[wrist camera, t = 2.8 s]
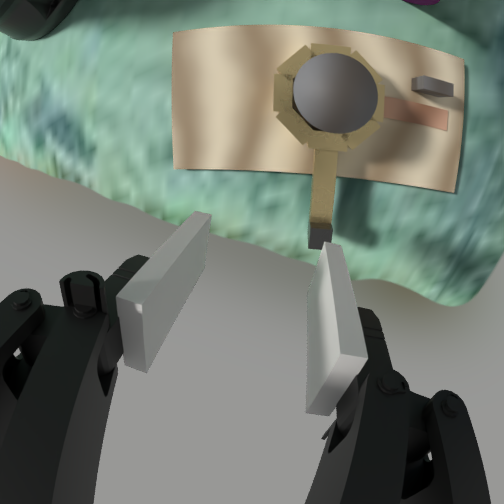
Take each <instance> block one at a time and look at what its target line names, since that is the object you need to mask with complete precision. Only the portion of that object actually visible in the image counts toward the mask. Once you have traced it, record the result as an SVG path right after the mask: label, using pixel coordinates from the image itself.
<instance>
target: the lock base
mask: <svg viewBox="0 0 504 504" xmlns="http://www.w3.org/2000/svg"><path fill="white" fill-rule="evenodd" d="M311 43H316V44H327V45H336V46H344V47H351V54H352V53H353V52H354V51H356V50H357V51H358V53H359V54H360V55H361V56H362V57H363V58H364V59H365V60H366V61H367V62H368V63H369V64H370V66H371V67H372V68H373V69H374V70H375V71H376V72H377V73H378V75H379V76H380V77H381V78H382V79H383V80H382V81H381V82H380V83H378V84H381V85H385V97H384V117H383V122H377V121H376V122H377V123H378V124H379V125H380V128H379V129H378V130H377V131H375V132H374V133H373V134H372V135H370V136H369V137H368V138H367V139H366V140H364V141H363V142H362V143H361V144H359V145H358V146H357V147H356V148H355V149H353V150H351V149H350V148H348V147H347V152H344V151H338V159H337V171H336V176H339V177H349V178H358V179H367V180H375V181H383V182H390V183H397V184H404V185H411V186H417V187H423V188H429V189H435V190H441V191H446V192H452V193H454V190H455V184H456V178H457V172H458V165H459V158H460V149H461V140H462V129H463V115H464V88H465V73H464V59H462V58H459V57H456V56H453V55H450V54H447V53H444V52H441V51H438V50H435V49H432V48H428V47H425V46H421V45H418V44H414V43H410V42H406V41H402V40H398V39H394V38H389V37H384V36H379V35H374V34H369V33H363V32H356V31H350V30H342V29H334V28H324V27H313V26H297V25H239V26H223V27H211V28H202V29H193V30H186V31H179V32H173V47H172V138H173V163H174V169H225V170H255V171H275V172H291V173H305V174H312V173H313V157H314V149H313V148H308V146H307V142H306V143H305V144H304V145H302V144H301V143H300V142H299V141H298V140H297V139H296V138H295V137H294V136H293V135H292V133H291V132H290V131H289V130H288V129H287V128H286V127H285V126H284V125H283V124H282V123H281V122H280V121H279V120H278V119H277V118H276V116H277V115H278V114H279V113H280V112H274V111H273V98H274V74H279V73H278V71H277V68H278V67H279V66H280V65H281V64H282V63H284V62H285V61H286V60H287V59H288V58H290V57H291V56H292V55H293V54H295V53H296V52H297V51H298V50H299V49H301V48H302V47H303V46H304V45H306V46H307V47H308V48H309V49H310V46H311ZM377 103H378V91H377V86H376V83H375V81H374V78H373V77H372V75H371V73H370V72H369V71H368V69H367V68H366V67H365V66H364V65H363V64H361V63H360V62H359V61H357V60H356V59H354V58H352V57H350V56H347V55H344V54H339V53H325V54H320V55H318V56H315V57H313V58H311V59H310V60H308V61H307V62H306V63H305V64H304V65H303V66H302V67H301V68H300V69H299V71H298V73H297V75H296V77H295V81H294V86H293V109H294V110H295V111H296V112H297V113H298V114H299V116H300V117H301V118H302V119H303V120H304V121H305V122H306V123H307V124H308V125H309V126H310V127H311V128H314V129H320V130H323V131H325V132H329V133H335V134H343V133H349V132H353V131H356V130H358V129H360V128H361V127H363V126H364V125H365V124H366V123H367V122H368V121H369V120H370V119H371V118H372V116H373V114H374V112H375V110H376V107H377Z"/></svg>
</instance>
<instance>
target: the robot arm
mask: <svg viewBox="0 0 504 504" xmlns="http://www.w3.org/2000/svg"><path fill="white" fill-rule="evenodd" d="M76 2H77V0H0V32H2V33H4V34H6V35H8V36H10V37H11V38H13V39H16V40H26V41H32V40H36V39H39V38H41V37H43V36H45V35H46V34H48V33H49V32H50V31H52V30H53V29H54V28H55V27H56V26H57V25H58V24H59V23H60V22H61V21H62V20H63V19H64V18H65V17H66V15H67V14H68V13H69V12H70V10H71V9H72V8H73V6H74V5H75V3H76ZM211 216H212V215H211V214H207V213H202V212H198V211H194V213H193V214H192V215H191V216H190V217H189V218H188V219H187V220H186V221H185V222H184V223H183V224H182V225H181V226H180V227H179V228H178V229H177V230H176V231H175V232H174V233H173V234H172V235H171V236H170V237H169V238H168V239H167V240H166V242H165V243H164V244H163V245H162V246H161V247H160V248H159V249H158V250H157V251H156V252H155V253H154V254H153V255H152V256H151V258H148V257H145V256H141V255H136V256H134V257H131V258H129V259H127V260H126V261H125V262H124V263H123V264H122V265H121V266H120V267H119V269H117V270H116V271H115V272H114V273H113V274H112V275H111V276H110V277H109V278H108V279H107V280H106V281H105V282H104V279H103V278H102V276H100V275H99V274H97V273H95V272H91V271H76V272H72V273H70V274H68V275H65V276H64V277H63V278H62V279H61V280H60V281H59V283H60V288H61V293H62V297H63V302H64V307H60V306H52V305H44V304H43V302H42V298H41V296H40V293H38V292H37V291H36V290H33V289H20V290H17V291H14V292H13V293H11V294H10V295H8V296H7V297H6V298H5V299H4V300H3V301H2V302H1V303H0V504H93V503H94V495H95V486H96V480H97V473H98V466H99V460H100V454H101V449H102V443H103V438H104V432H105V428H106V423H107V418H108V413H109V409H110V404H111V400H112V396H113V391H114V387H115V383H116V379H117V375H118V367H117V362H118V361H119V359H120V358H121V356H122V354H123V356H124V363H125V365H126V366H129V367H131V368H134V369H137V370H139V371H142V372H145V373H147V371H148V370H149V368H150V366H151V364H152V362H153V360H154V359H155V357H156V355H157V353H158V351H159V349H160V347H161V346H162V344H163V342H164V340H165V338H166V336H167V334H168V333H169V331H170V329H171V327H172V325H173V324H174V322H175V320H176V318H177V316H178V314H179V313H180V311H181V309H182V307H183V306H184V304H185V302H186V300H187V299H188V297H189V295H190V293H191V291H192V290H193V288H194V286H195V284H196V283H197V281H198V279H199V277H200V275H201V274H202V272H203V270H204V268H205V260H206V253H207V245H208V238H209V230H210V223H211ZM307 320H308V321H307V325H308V326H307V391H306V413H309V414H316V415H324V416H329V415H330V414H331V413H332V412H333V410H334V409H335V407H336V409H337V419H336V420H335V421H334V422H333V424H332V425H331V426H330V427H329V429H328V430H327V431H326V432H325V434H324V435H323V437H322V439H323V440H325V439H326V438H327V436H328V438H327V441H326V445H325V448H324V451H323V454H322V457H321V460H320V463H319V466H318V469H317V472H316V475H315V478H314V480H313V483H312V486H311V489H310V492H309V494H308V497H307V499H306V502H305V504H491V501H490V495H489V490H488V485H487V480H486V476H485V471H484V467H483V462H482V458H481V455H480V451H479V447H478V443H477V440H476V437H475V433H474V430H473V427H472V423H471V420H470V417H469V414H468V411H467V408H466V406H465V404H464V402H463V400H462V399H461V398H460V397H459V396H458V395H457V394H455V393H453V392H452V391H448V390H441V391H439V392H437V393H436V394H435V395H434V396H433V397H432V398H431V399H429V398H427V397H424V396H421V395H419V394H416V393H414V392H412V391H410V389H409V385H408V383H407V381H406V380H405V378H404V377H403V376H402V375H401V374H400V373H399V372H397V371H395V370H393V368H392V364H391V360H390V356H389V353H388V349H387V345H386V342H385V340H384V339H385V338H384V334H383V332H382V327H381V324H380V321H379V319H378V318H377V316H376V315H375V314H374V312H373V311H372V310H370V309H365V308H361V307H357V304H356V300H355V296H354V292H353V288H352V284H351V280H350V276H349V272H348V268H347V264H346V261H345V257H344V254H343V250H342V246H341V245H337V244H333V243H329V242H324V245H323V248H322V251H321V254H320V257H319V260H318V263H317V266H316V269H315V272H314V275H313V278H312V281H311V284H310V287H309V290H308V293H307ZM18 348H19V350H20V352H21V353H20V354H19V355H18V356H17V357H15V356H14V355H13V353H14V352H15V351H16V350H17V349H18ZM430 452H431V454H432V460H429V457H428V453H430Z"/></svg>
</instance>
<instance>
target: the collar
mask: <svg viewBox="0 0 504 504" xmlns="http://www.w3.org/2000/svg"><path fill="white" fill-rule="evenodd" d="M325 53H339V54H344V55H347V56H350V57H352V58H354V59H356V60H357V61H359V62H360V63H361V64H363V65H364V66H365V67H366V68H367V69H368V71H369V72H370V73H371V75H372V77H373V78H374V81H375V83H376V86H377V91H378V103H377V107H376V110H375V112H374V114H373V116H372V118H371V119H370V120H369V121H368V122H367V123H366V124H365V125H364V126H363V127H361V128H360V129H358V130H356V131H353V132H349V133H343V134H335V133H329V132H325V131H323V130H320V129H314V128H311V127H310V126H309V125H308V124H307V123H306V122H305V121H304V120H303V119H302V118H301V117H300V116H299V114H298V113H297V112H296V111H295V110H294V109H293V86H294V81H295V77H296V75H297V73H298V71H299V69H300V68H301V67H302V66H303V65H304V64H305V63H306V62H307V61H308V60H310V59H311V58H313V57H315V56H318V55H320V54H325ZM277 71H278V73H279V74H274V98H273V111H274V112H280V113H279V114H278V115H277V116H276V118H277V119H278V120H279V121H280V122H281V123H282V124H283V125H284V126H285V127H286V128H287V129H288V130H289V131H290V132H291V133H292V135H293V136H294V137H295V138H296V139H297V140H298V141H299V142H300V143H301V144H302V145H304V144H305V143H306V142H307V146H308V148H313V149H314V157H313V173H312V187H311V200H310V212H309V224H308V249H320V250H322V248H323V245H324V242H329V243H331V240H332V232H333V229H332V225H331V221H332V212H333V203H334V193H335V182H336V171H337V159H338V151H344V152H347V147H348V148H350V149H351V150H353V149H355V148H356V147H357V146H358V145H359V144H361V143H362V142H363V141H364V140H366V139H367V138H368V137H369V136H370V135H372V134H373V133H374V132H375V131H377V130H378V129H379V128H380V125H379V124H378V123H377V122H383V117H384V97H385V85H381V84H378V83H380V82H381V81H382V80H383V79H382V78H381V77H380V76H379V75H378V73H377V72H376V71H375V70H374V69H373V68H372V67H371V66H370V64H369V63H368V62H367V61H366V60H365V59H364V58H363V57H362V56H361V55H360V54H359V53H358V51H357V50H356V51H354V52H353V53H352V54H351V47H344V46H336V45H327V44H316V43H311V46H310V49H309V48H308V47H307V46H306V45H304V46H303V47H302V48H301V49H299V50H298V51H297V52H296V53H295V54H293V55H292V56H291V57H290V58H288V59H287V60H286V61H285V62H284V63H282V64H281V65H280V66H279V67H278V68H277ZM376 121H377V122H376Z"/></svg>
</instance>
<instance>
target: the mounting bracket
mask: <svg viewBox="0 0 504 504" xmlns="http://www.w3.org/2000/svg"><path fill="white" fill-rule="evenodd" d="M403 1H406V2H410V3H414V4H419V5H433V4H436V3H438V2H439V1H440V0H403Z"/></svg>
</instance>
